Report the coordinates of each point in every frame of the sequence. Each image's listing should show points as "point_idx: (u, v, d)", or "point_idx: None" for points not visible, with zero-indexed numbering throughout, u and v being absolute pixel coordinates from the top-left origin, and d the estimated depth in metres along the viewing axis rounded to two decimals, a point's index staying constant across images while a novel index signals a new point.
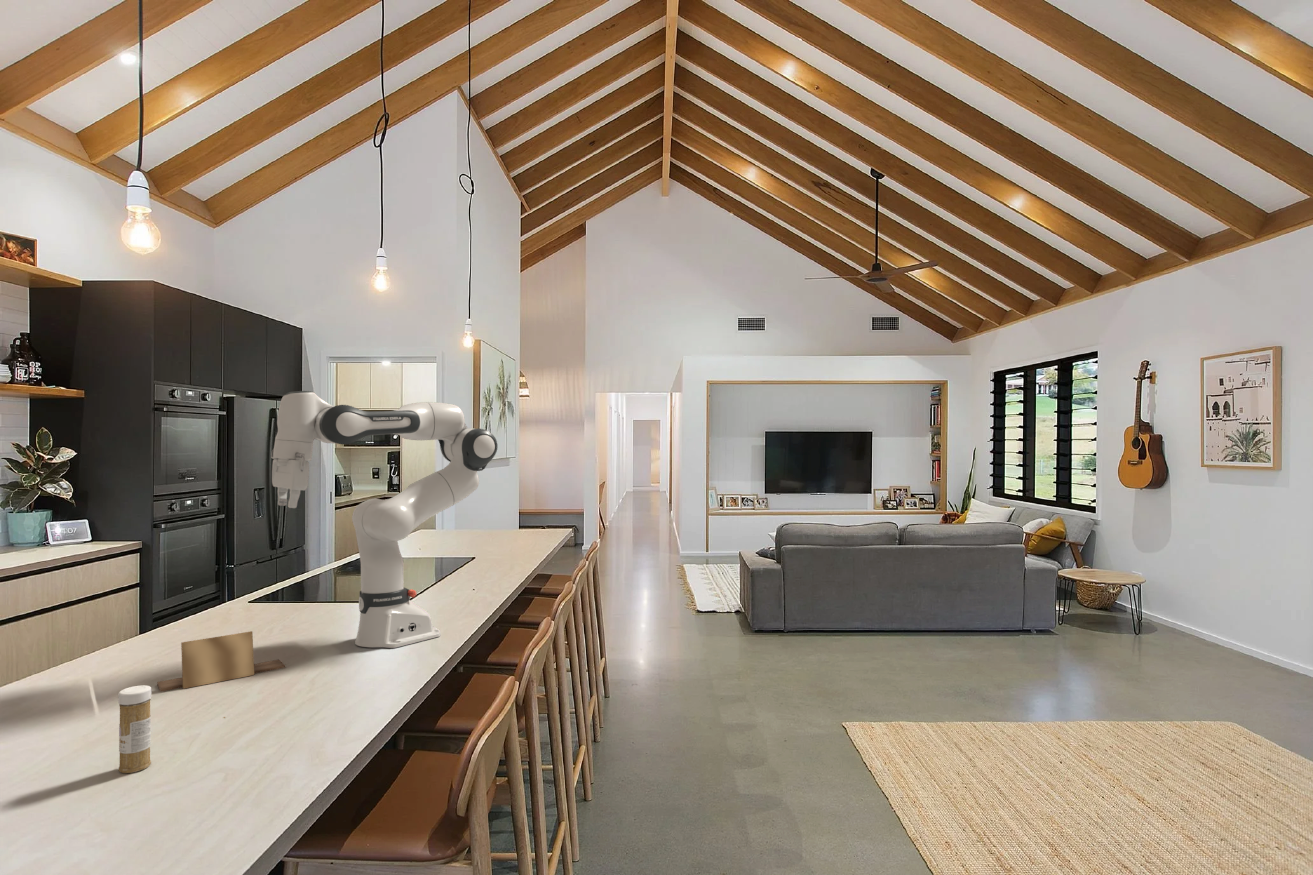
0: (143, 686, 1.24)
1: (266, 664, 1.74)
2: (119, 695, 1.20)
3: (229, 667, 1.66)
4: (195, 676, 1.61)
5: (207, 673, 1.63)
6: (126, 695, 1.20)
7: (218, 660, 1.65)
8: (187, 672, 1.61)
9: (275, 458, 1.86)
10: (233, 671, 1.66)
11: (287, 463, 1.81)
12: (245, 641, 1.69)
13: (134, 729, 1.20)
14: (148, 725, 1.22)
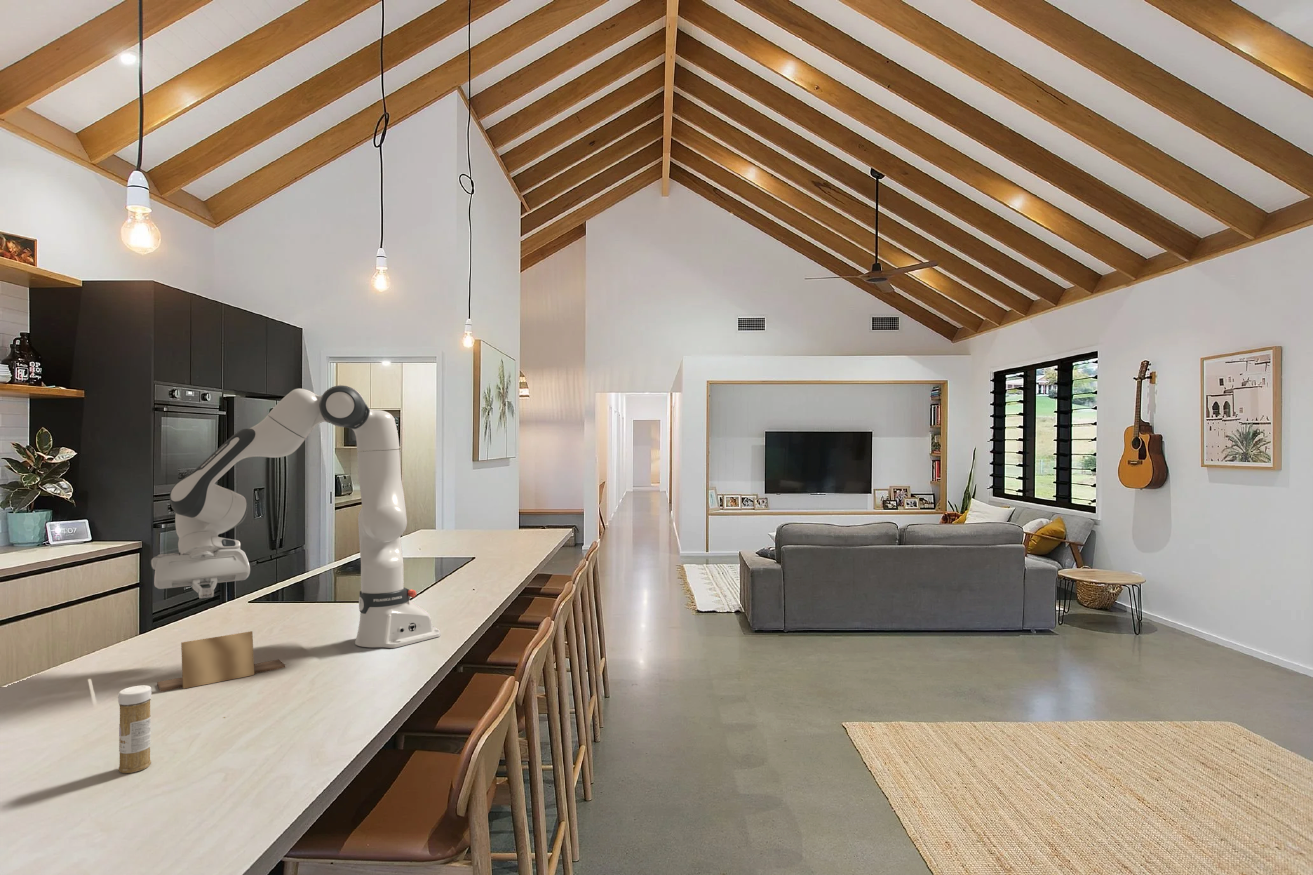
0: (143, 686, 1.24)
1: (266, 664, 1.74)
2: (119, 695, 1.20)
3: (229, 667, 1.66)
4: (195, 676, 1.61)
5: (207, 673, 1.63)
6: (126, 695, 1.20)
7: (218, 660, 1.65)
8: (187, 672, 1.61)
9: None
10: (233, 671, 1.66)
11: None
12: (245, 641, 1.69)
13: (134, 729, 1.20)
14: (148, 725, 1.22)
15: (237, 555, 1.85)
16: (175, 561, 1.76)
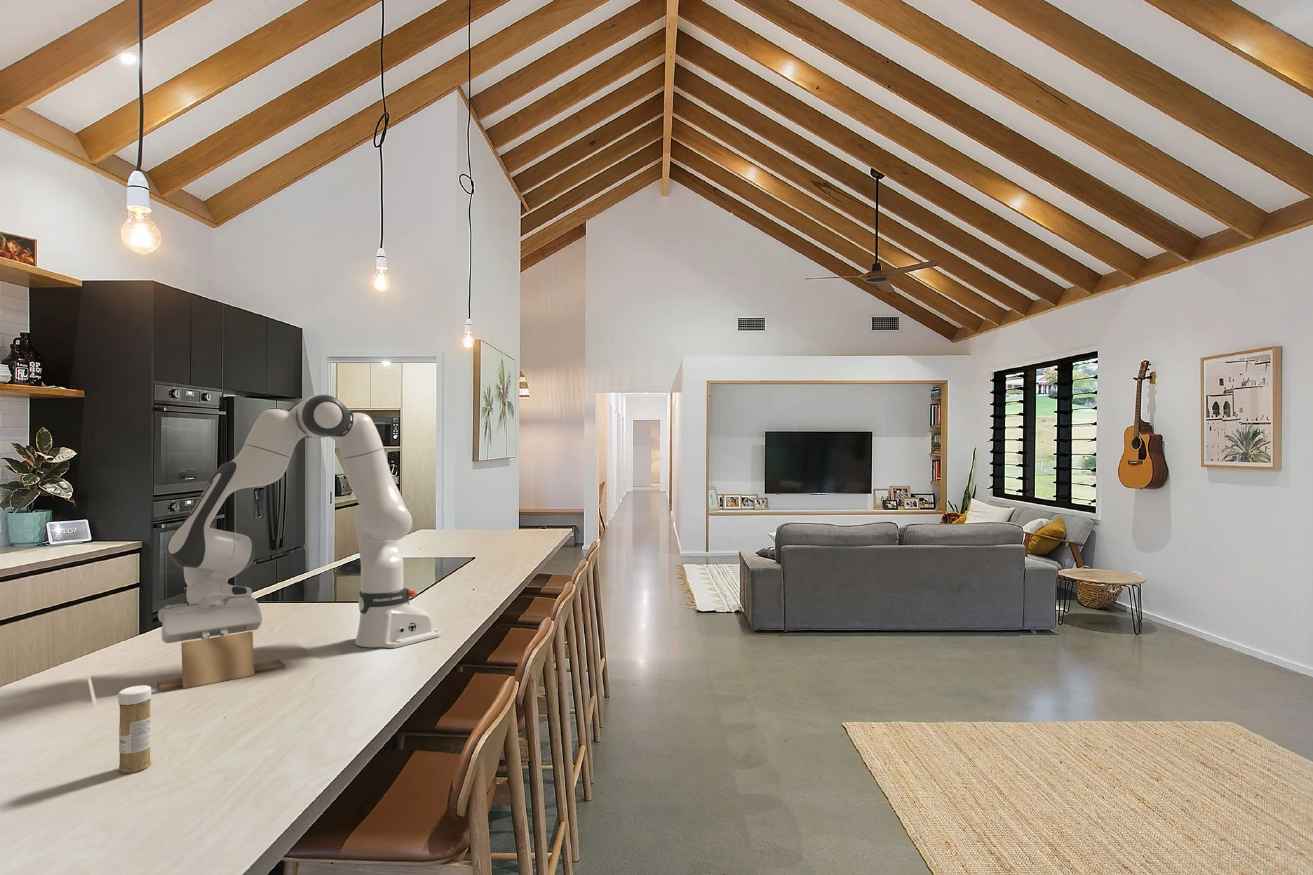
0: (143, 686, 1.24)
1: (266, 664, 1.74)
2: (119, 695, 1.20)
3: (229, 667, 1.66)
4: (195, 676, 1.61)
5: (207, 673, 1.63)
6: (126, 695, 1.20)
7: (218, 660, 1.65)
8: (187, 672, 1.60)
9: None
10: (233, 671, 1.66)
11: None
12: (245, 641, 1.69)
13: (134, 729, 1.20)
14: (148, 725, 1.22)
15: (248, 604, 1.75)
16: (183, 612, 1.67)
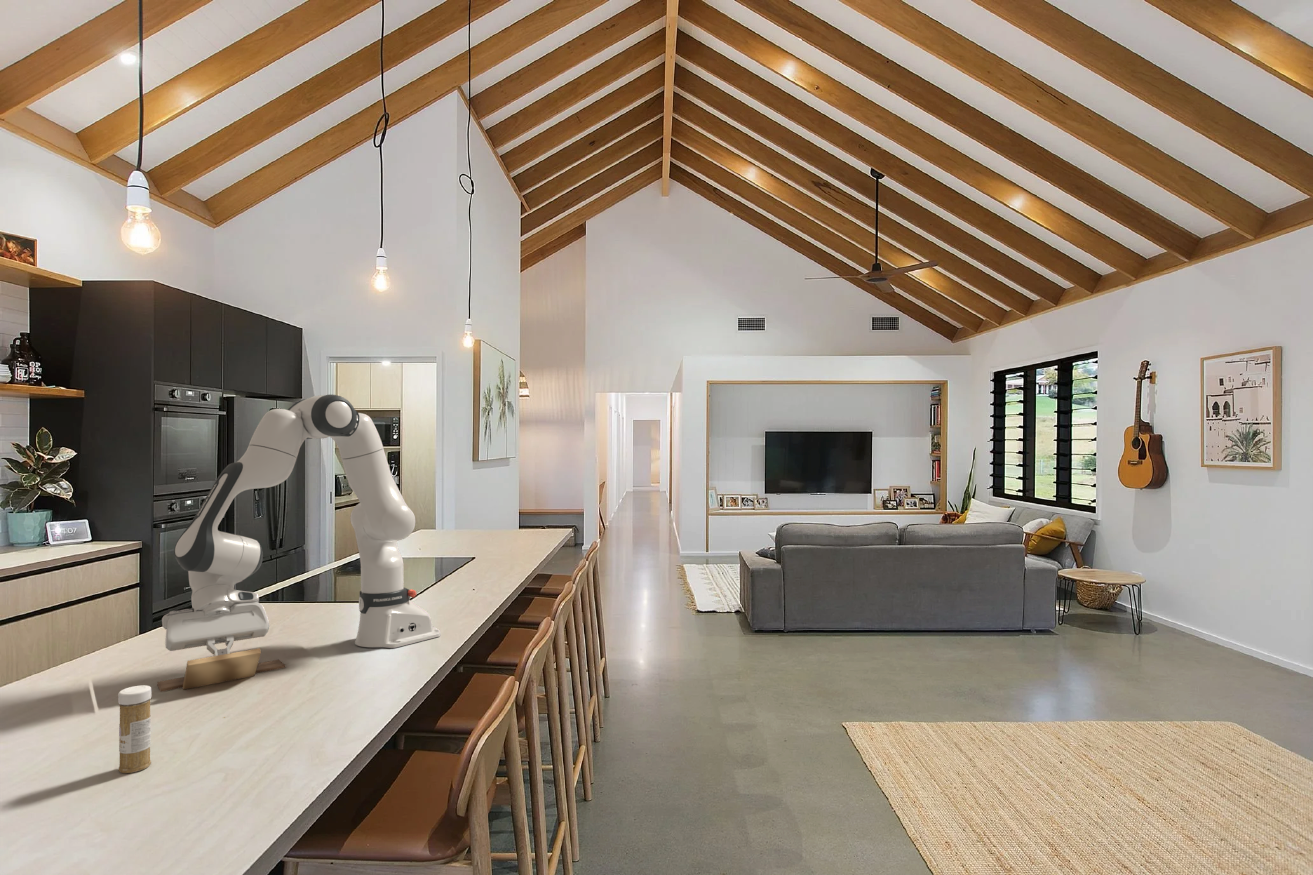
0: (143, 686, 1.24)
1: (266, 664, 1.74)
2: (119, 695, 1.20)
3: (231, 675, 1.64)
4: (196, 682, 1.60)
5: (208, 680, 1.61)
6: (126, 695, 1.20)
7: (221, 672, 1.62)
8: (189, 681, 1.58)
9: None
10: (234, 676, 1.65)
11: None
12: (252, 659, 1.64)
13: (134, 729, 1.20)
14: (148, 725, 1.22)
15: (255, 610, 1.69)
16: (188, 619, 1.61)
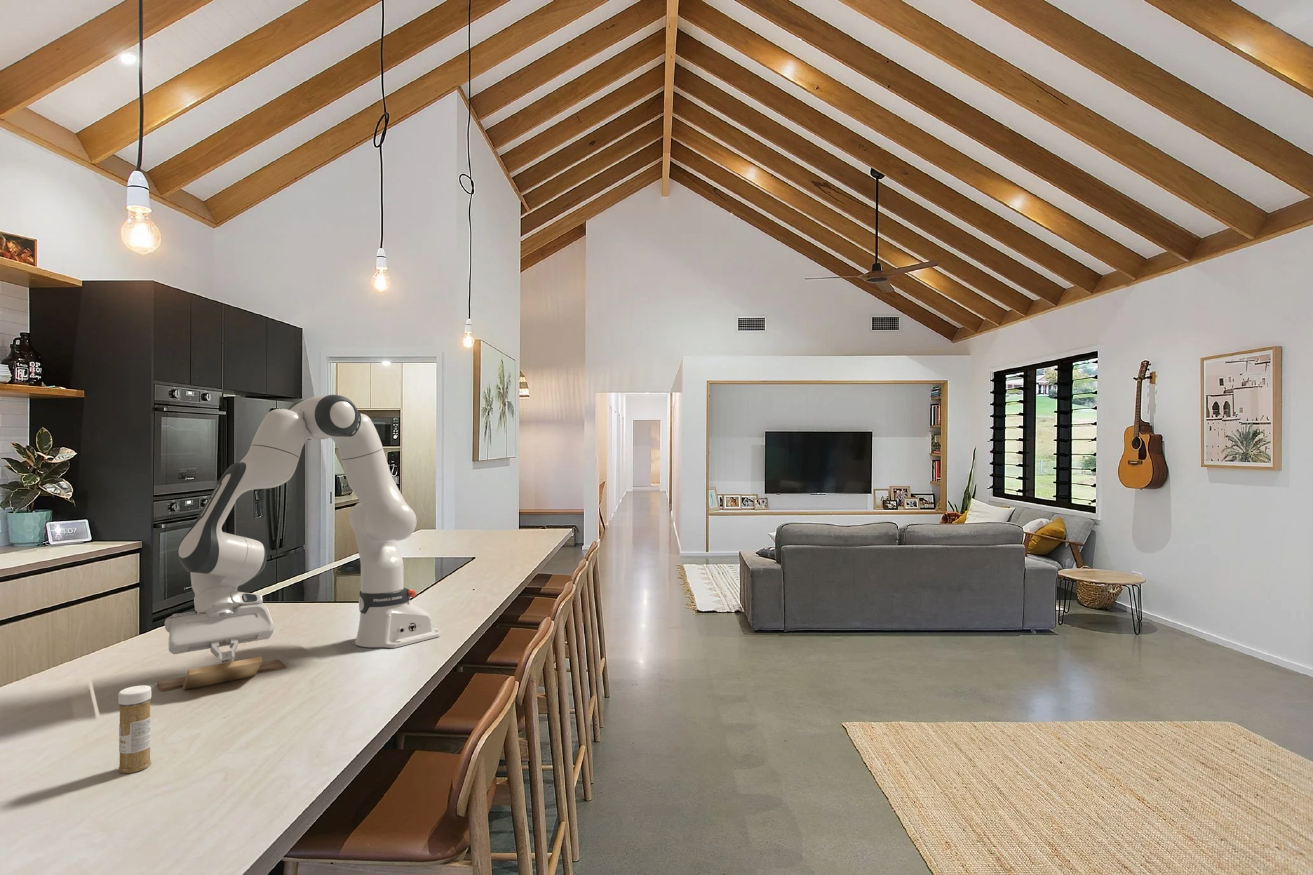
0: (143, 686, 1.24)
1: (266, 664, 1.74)
2: (119, 695, 1.20)
3: (231, 677, 1.64)
4: (196, 685, 1.60)
5: (209, 682, 1.61)
6: (126, 695, 1.20)
7: (222, 676, 1.61)
8: (189, 684, 1.58)
9: None
10: (234, 678, 1.65)
11: None
12: (253, 666, 1.63)
13: (134, 729, 1.20)
14: (148, 725, 1.22)
15: (259, 611, 1.67)
16: (191, 621, 1.59)
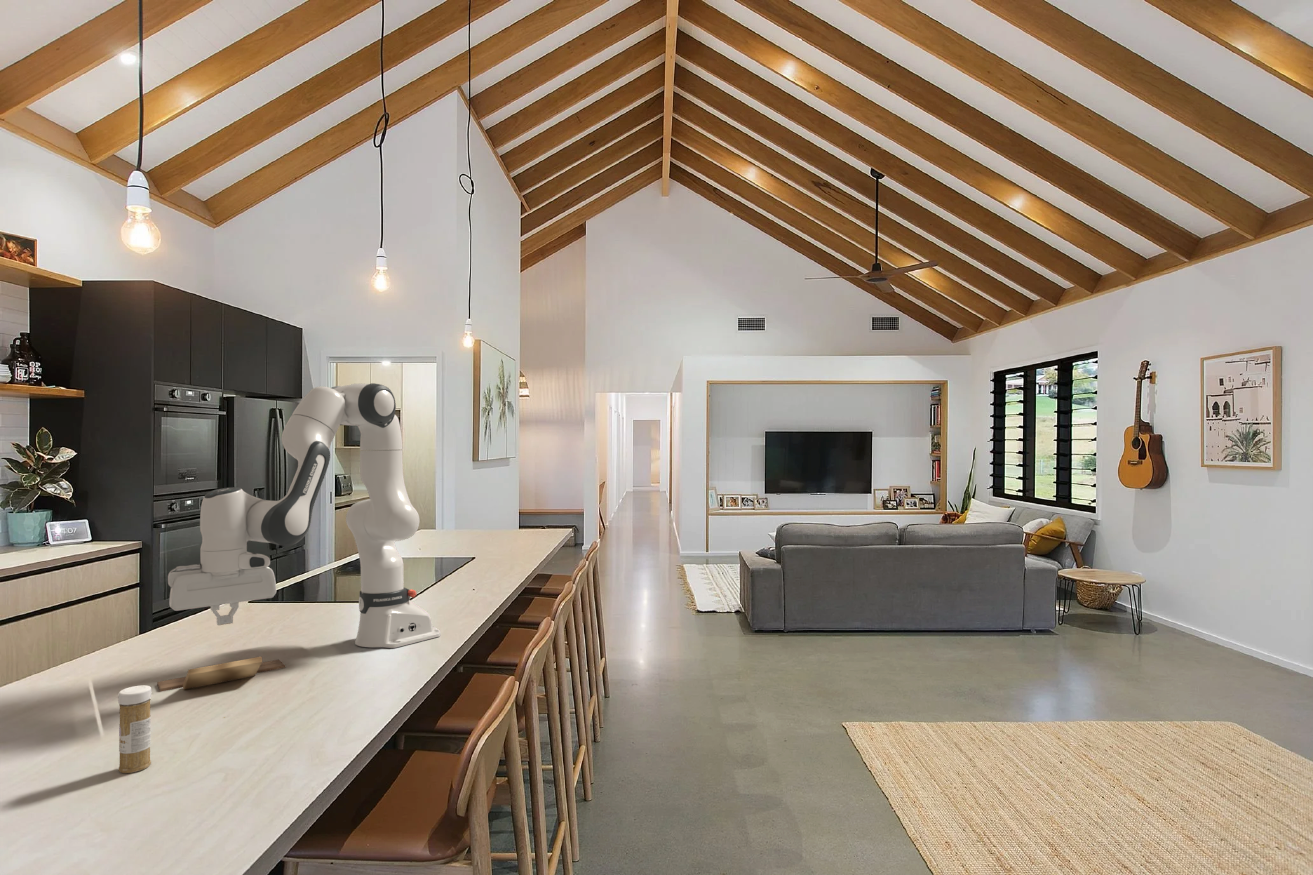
0: (143, 686, 1.24)
1: (266, 664, 1.74)
2: (119, 695, 1.20)
3: (231, 677, 1.64)
4: (196, 685, 1.60)
5: (209, 682, 1.61)
6: (126, 695, 1.20)
7: (222, 676, 1.61)
8: (189, 684, 1.58)
9: None
10: (234, 678, 1.65)
11: None
12: (253, 666, 1.63)
13: (134, 729, 1.20)
14: (148, 725, 1.22)
15: (264, 575, 1.63)
16: (195, 582, 1.54)
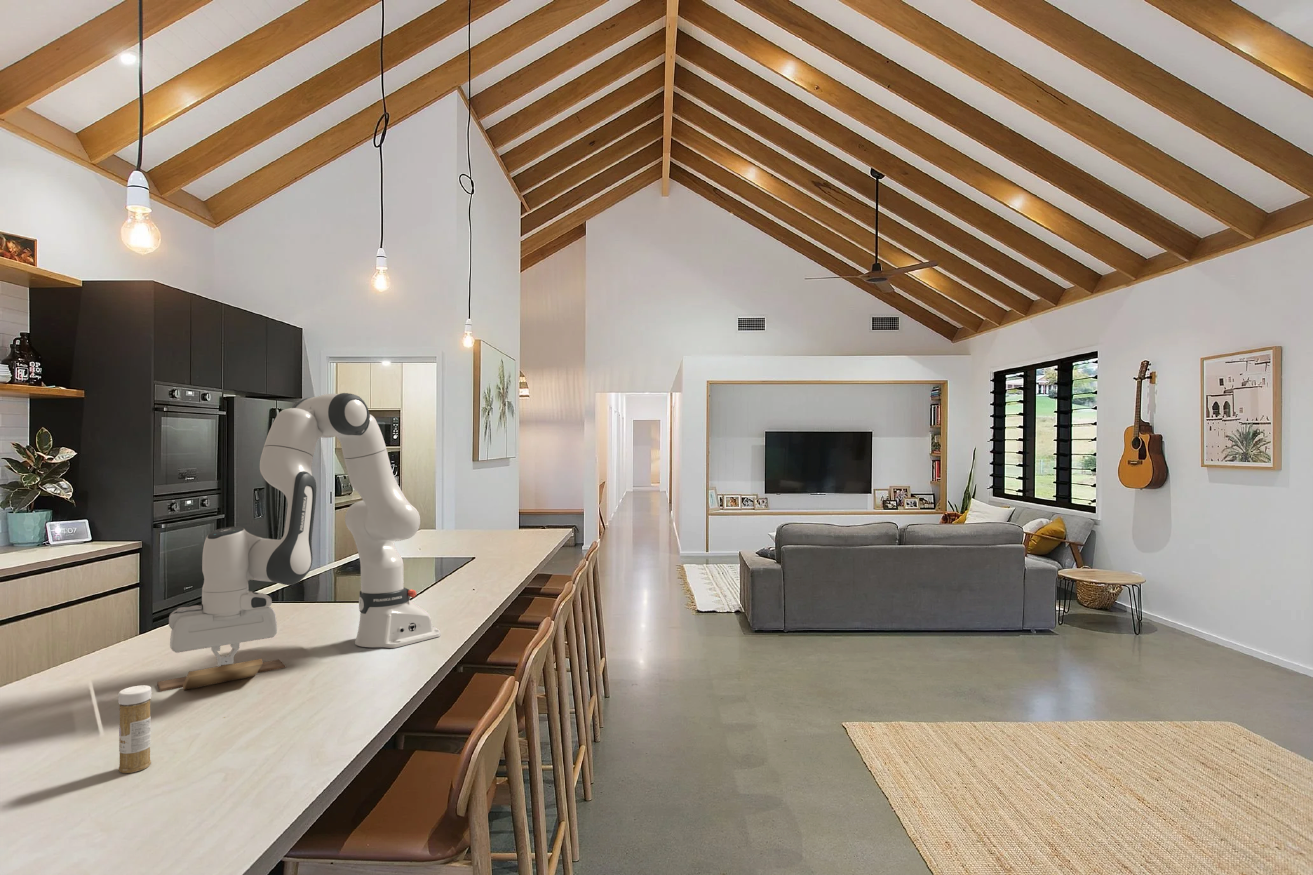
0: (143, 686, 1.24)
1: (266, 664, 1.74)
2: (119, 695, 1.20)
3: (231, 678, 1.64)
4: (197, 685, 1.60)
5: (209, 683, 1.61)
6: (126, 695, 1.20)
7: (222, 677, 1.61)
8: (189, 685, 1.58)
9: None
10: (234, 679, 1.65)
11: None
12: (253, 667, 1.63)
13: (134, 729, 1.20)
14: (148, 725, 1.22)
15: (265, 615, 1.62)
16: (196, 624, 1.54)
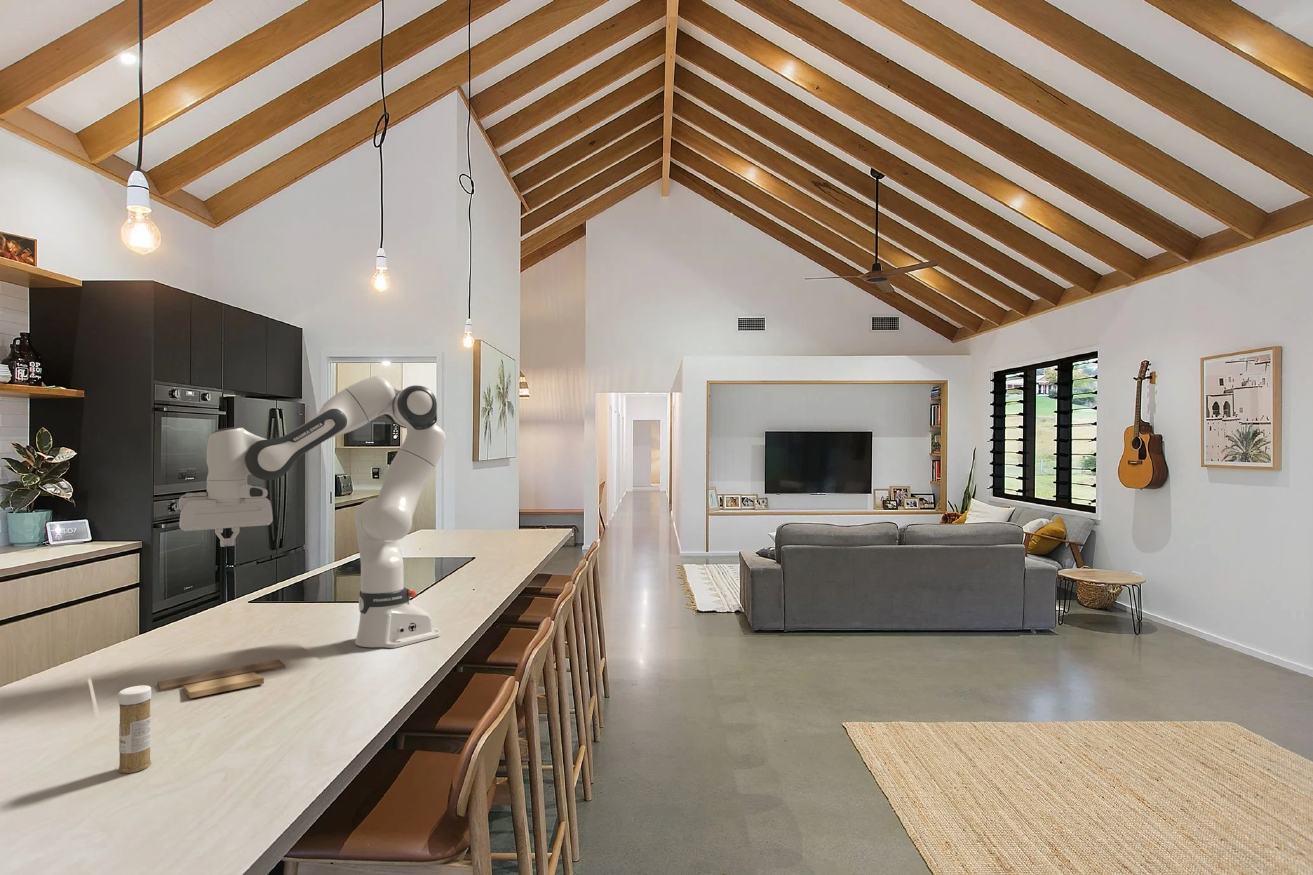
0: (143, 686, 1.24)
1: (266, 664, 1.74)
2: (119, 695, 1.20)
3: None
4: None
5: None
6: (126, 695, 1.20)
7: None
8: None
9: None
10: None
11: None
12: None
13: (134, 729, 1.20)
14: (148, 725, 1.22)
15: (262, 505, 1.85)
16: (201, 507, 1.77)
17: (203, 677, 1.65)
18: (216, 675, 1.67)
